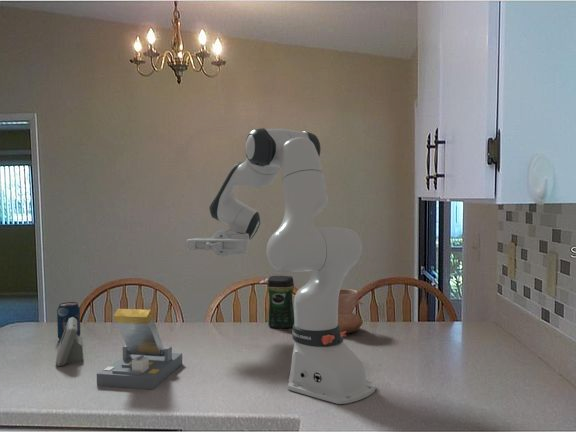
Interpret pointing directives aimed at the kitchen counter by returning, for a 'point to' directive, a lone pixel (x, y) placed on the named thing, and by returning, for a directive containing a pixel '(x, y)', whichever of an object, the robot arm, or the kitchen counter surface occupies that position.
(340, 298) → the ceramic jug
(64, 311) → the soda can
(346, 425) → the kitchen counter surface
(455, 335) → the kitchen counter surface
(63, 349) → the digital clock
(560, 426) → the kitchen counter surface
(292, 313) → the coffee jar
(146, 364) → the slide switch
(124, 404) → the kitchen counter surface
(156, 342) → the lever
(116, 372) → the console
